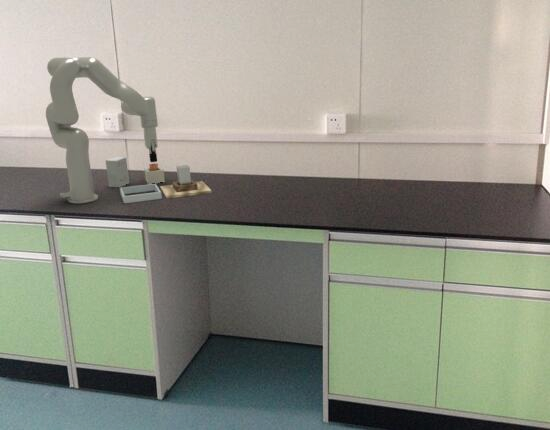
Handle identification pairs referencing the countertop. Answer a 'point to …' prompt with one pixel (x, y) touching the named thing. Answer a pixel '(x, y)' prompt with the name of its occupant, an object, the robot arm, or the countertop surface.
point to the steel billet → (183, 175)
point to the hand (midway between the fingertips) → (153, 161)
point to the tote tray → (140, 196)
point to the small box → (117, 171)
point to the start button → (153, 167)
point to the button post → (154, 175)
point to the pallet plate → (185, 189)
